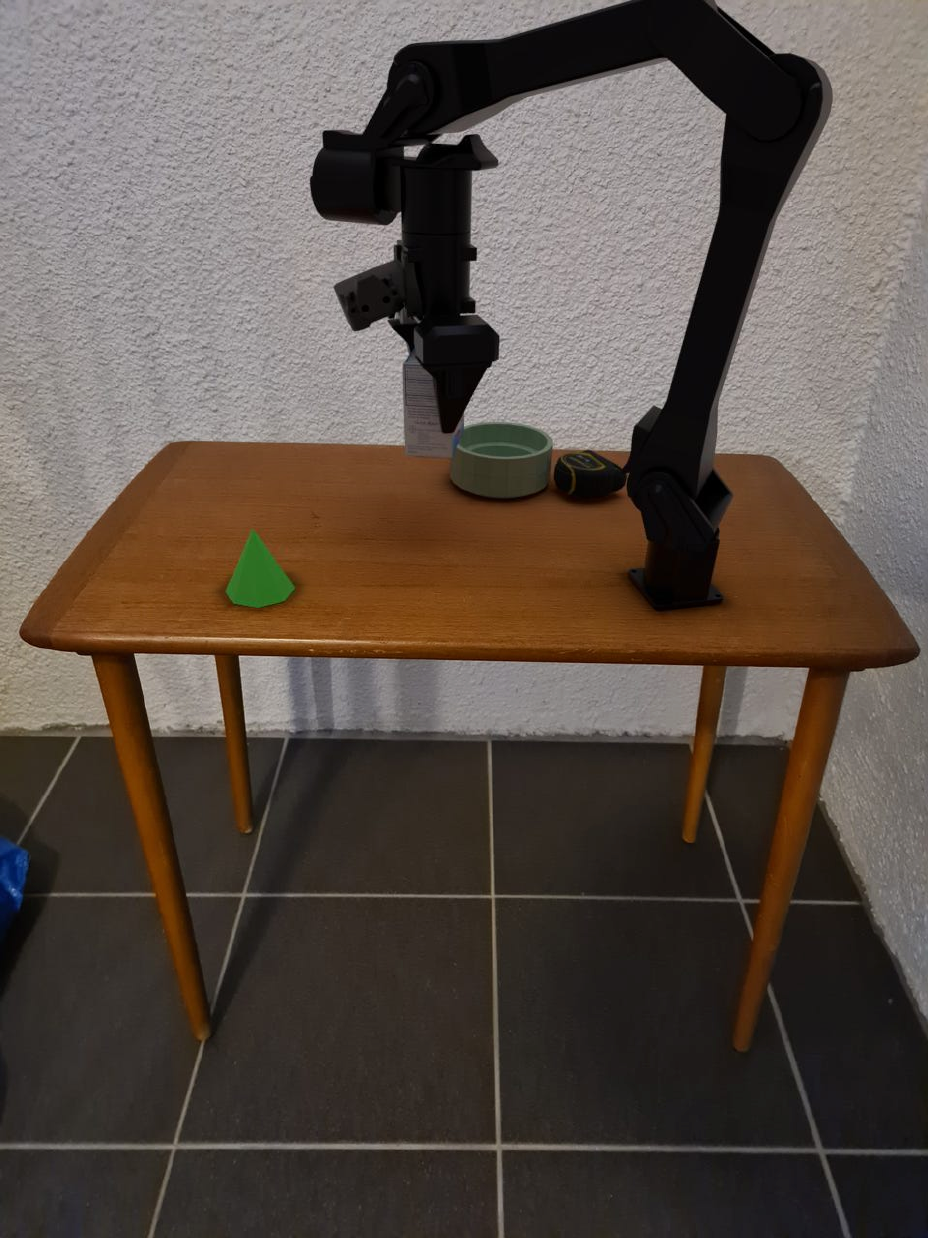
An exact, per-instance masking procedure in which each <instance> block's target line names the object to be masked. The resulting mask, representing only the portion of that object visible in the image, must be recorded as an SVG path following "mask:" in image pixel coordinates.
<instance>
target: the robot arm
mask: <svg viewBox="0 0 928 1238" xmlns="http://www.w3.org/2000/svg"><path fill="white" fill-rule="evenodd" d="M666 62H670V63H672V64H673V65H674V66H675V67H676V68H677V69H678V70H679V71H680V72H681V73H682V74H683V75H684V76H685V77H686V78H687V80H689V81H690V82H691V83H692V84H693V85H694V86H695V87H696V89H697V90H699V91H700V93H701V94H702V95H703V96H704V97H705V98H707V99H708V100H709V101H710V102H711V103H712V104H714V105H715V106H716V107H717V108H718V109H719V110H721V112H723V113H724V114H725V119H724V127H723V136H722V144H721V145H722V146H721V154H720V162H719V163H720V168H719V169H720V170H719V171H720V173H719V176H720V177H719V207H718V214H717V218H716V221H715V225H714V228H713V232H712V236H711V239H710V243H709V246H708V250H707V254H706V257H705V261H704V265H703V268H702V271H701V276H700V277H699V282H698V286H697V288H696V289H697V290H696V293H695V297H694V300H693V304H692V308H691V310H690V315H689V318H688V321H687V324H686V329H685V332H684V335H683V339H682V343H681V346H680V350H679V354H678V358H677V361H676V365H675V368H674V372H673V375H672V379H671V382H670V385H669V390H668V392H667V396H666V400H665V402H664V404H663V406H662V408H661V407H658V406H657V405H652V406H651V407H650V408H649V409H648V410H647V412H645V414H644V415H643V416H642V417H641V418H640V419H639V420H638V421H637V422H636V424H634V425H633V429H632V434H631V440H630V441H631V442H630V450H629V452H630V453H629V457H628V458H627V462H626V463H625V465H624V466H623V468H622V470H621V473H622V474H627V479H626V485H625V486H626V487H625V488H626V489H625V490H626V493H627V498H629V500H631V502H632V504H633V506H634V507H635V508H636V509H637V510H638V511H640V516H641V520H642V525H643V529H644V533H645V538H646V540H647V547H646V555H645V560H644V567H636V568H635V567H634V568H629V569H628V572H627V576H628V578H629V579H630V580H631V581H632V582H633V584H634V585H635V586H636V587H637V589H638V590H639V591H640V592H641V593H642V594H643V596H644V597H645V598H646V600H647V601H648V602H649V604H651V606H652V607H653V608H654V609H656V610H669V609H678V608H686V607H695V606H696V607H697V606H705V605H712V604H721V603H723V601H724V598H725V597H724V594H722V592H720V591H719V590H718V588H717V587H716V586H715V584H713V583H712V580H713V576H714V571H715V566H716V563H717V562H716V561H717V558H718V554H719V553H718V552H719V548H720V543H721V540H720V538H719V537H720V535H721V530H720V527H719V526H720V524H721V522H722V520H723V519H724V516H725V514H726V512H727V510H728V507H729V506H730V504H731V502H732V501H733V498H734V493H733V491H732V490H731V489H730V487H729V486H728V485H727V483H726V482H725V481H724V479H723V478H722V476H720V474H719V472H717V470H716V469H715V467H714V464H715V463H714V462H715V455H716V449H717V448H716V447H717V440H718V429H719V428H718V427H719V424H718V422H719V405H720V404H719V403H720V398H721V396H722V393H723V389H724V387H725V383H726V379H727V376H728V373H729V370H730V367H731V364H732V361H733V359H734V354H735V351H736V348H737V346H738V343H739V339H740V335H741V333H742V329H743V326H744V323H745V320H746V317H747V313H748V311H749V307H750V304H751V302H752V298H753V295H754V292H755V288H756V286H757V282H758V279H759V276H760V274H761V270H762V266H763V263H764V261H765V257H766V253H767V251H768V247H769V246H770V245H769V244H770V241H771V239H772V235H773V232H774V229H775V225H776V222H777V220H778V217H779V215H780V214H781V211H782V209H783V207H784V206H785V203H786V202H787V200H788V199H789V197H790V194H791V193H792V191H793V189H794V187H795V186H796V183H797V181H798V179H799V178H800V176H801V174H802V173H803V171H804V168H805V167H806V165H807V162H808V161H809V158H810V157H811V155H812V153H813V151H814V149H815V147H816V144H817V142H818V141H819V139H820V137H821V135H822V132H823V130H824V129H825V128H826V124H827V123H828V121H829V118H830V115H831V113H832V107H833V101H834V96H833V95H834V94H833V87H832V83H831V81H830V79H829V76H828V75H827V72H826V71H825V69H824V68H823V67H821V66H820V65H819V64H818V63H817V62H816V61H814V60H812V59H809V58H806V57H804V56H801V55H797V54H795V53H791V52H783V53H782V52H781V53H780V52H779V53H778V52H777V53H776V52H775V51H774V50H772V49H771V48H770V47H769V46H768V45H767V44H765V43H764V42H763V41H761V39H759V38H758V37H757V36H755V35H754V34H753V33H752V32H750V31H749V30H748V29H747V28H746V27H744V26H743V25H742V24H741V23H739V21H737V20H736V19H735V18H733V17H732V16H731V15H729V14H728V13H727V12H726V11H725V10H724V9H722V8H721V7H720V6H719V5H718V4H717V2H716V0H626V1H623V2H619V3H616V4H612V5H610V6H605V7H603V8H600V9H596V10H593V11H589V12H586V13H582V14H580V15H576V16H573V17H569V18H566V19H563V20H559V21H555V22H553V23H549V24H546V25H542V26H539V27H535V28H533V29H529V30H525V31H523V32H518V33H516V34H512V35H508V36H506V37H501V38H490V39H459V40H457V39H456V40H455V39H451V40H439V41H423V42H422V41H421V42H413V43H409V44H407V45H405V46H403V47H402V48H400V49H399V50H398V51H397V52H396V53H395V54H394V55H393V60H392V63H391V65H390V68H389V70H388V73H387V80H386V89H385V90H384V92H383V95H382V97H381V98H380V100H379V102H378V103H377V106H376V107H375V109H374V111H373V114H372V115H371V117H370V119H369V121H368V123H367V125H366V126H365V129H364V130H363V132H362V133H358V132H354V131H351V130H348V129H323V131H322V133H321V135H322V147H321V148H320V150H318V152H317V154H316V157H315V159H314V162H313V167H312V173H311V176H310V177H309V190H310V196H311V199H312V202H313V206H314V208H315V210H316V212H317V213H318V215H319V216H320V217H321V218H322V219H324V220H326V221H329V222H330V221H331V222H342V223H350V224H351V223H353V224H361V225H362V224H364V225H372V226H373V225H374V226H385V227H386V226H389V225H390V224H392V223H393V222H394V221H395V219H397V216H398V214H400V224H401V225H400V227H401V229H400V230H401V234H400V235H401V236H400V237H401V239H396V244H393V260H390V261H388V262H385V263H382V264H379V265H376V266H373V267H372V268H368V269H366V270H364V271H362V272H359V273H357V274H355V275H353V276H350V277H347V278H345V279H344V280H341V281H339V282H337V283H335V284H334V285H333V287H332V288H333V290H334V292H335V295H336V297H337V300H338V303H339V305H340V307H341V310H342V312H343V314H344V317H345V319H346V322H347V324H348V325H349V326H350V329H351V331H352V332H359V331H363V330H366V329H368V328H371V325H372V324H374V323H376V322H379V321H380V320H383V319H386V318H387V323H388V324H389V326H390V327H391V328H392V330H393V331H394V332H395V333H396V334H397V335H398V336H399V337H400V338H401V339H402V340H403V341H404V342H405V345H406V349H407V353H408V356H409V355H410V354H411V352H412V351H413V350H414V348H415V350H416V355H417V356H415V358H416V360H417V361H418V362H419V364H420V365H421V366H422V368H423V369H424V370H426V371H427V372H428V373H429V374H430V375H431V376H432V379H433V385H434V391H435V398H436V404H437V410H438V416H439V422H440V427H441V431H442V433H444V434H448V433H454V432H455V430H456V428H457V426H458V424H459V422H460V419H461V417H462V415H463V413H464V414H465V412H466V410H467V407H468V405H469V403H470V401H471V400H472V398H473V396H474V393H475V392H476V390H477V388H478V386H479V384H480V383H481V381H482V379H483V377H484V375H485V373H486V372H487V371H488V369H490V368H492V367H493V363H494V362H497V361H498V360H500V342H501V340H500V338H501V336H500V334H498V332H497V331H496V330H495V329H494V328H493V327H492V326H491V325H490V323H488V322H487V321H486V320H485V319H484V318H483V317H481V316H480V315H479V314H476V311H477V310H476V307H477V300H475V298H474V297H472V296H470V295H471V294H470V292H471V290H470V289H471V262H477V261H478V247H477V246H475V245H474V244H472V242H471V241H472V203H473V198H472V197H473V172H481V171H487V170H492V169H496V168H498V166H499V159H498V157H496V156H495V155H494V153H493V152H492V151H491V149H489V148H487V146H486V145H485V144H484V141H483V140H482V137H481V135H480V134H479V133H472V134H471V133H470V134H465V135H464V136H463V137H462V139H461V140H460V141H459V142H458V143H457V144H455V143H438V142H437V143H435V142H436V141H437V140H438V139H439V138H440V137H441V136H443V135H444V134H445V135H446V134H458V133H461V132H464V131H467V130H469V129H471V128H473V127H476V126H477V125H479V124H481V123H483V122H485V121H487V120H489V119H491V118H493V117H495V116H497V115H499V114H500V113H502V112H503V111H505V110H507V109H508V108H509V107H511V106H512V105H514V104H516V103H519V102H520V101H523V100H524V99H527V98H530V97H533V96H537V95H541V94H545V93H549V92H553V91H557V90H561V89H564V88H568V87H573V86H575V85H576V86H577V85H580V84H584V83H588V82H592V81H595V80H600V79H604V78H607V77H611V76H615V75H619V74H623V73H628V72H631V71H634V70H639V69H642V68H646V67H651V66H654V65H658V64H662V63H666ZM420 146H423V147H422V148H421V149H420V151H419V152H418V154H417V155H416V156H410V155H409V156H408V155H405V148H406V147H408V148H409V147H420Z"/></svg>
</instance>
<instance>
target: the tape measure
mask: <svg viewBox="0 0 928 1238" xmlns="http://www.w3.org/2000/svg"><path fill="white" fill-rule="evenodd" d="M622 469H623V468H622V467H621V466H620V465H618V464H617V463H615V462H613V461H611V460H610V459H607V458H606V457H605V456H603V455H600V454H598V453H597V452H595V451H593V450H590V449H587V450H586V449H585V450H583V451H571V452H567V453H564V454H562V455H561V456H559V458H557V460H556V464H555V465H554V469H553V477H552V478H553V481H554V485H555V486H556V488H557V489H558V490H559V491H560V492H563V493H565V494H566V495H569V496H570V497H574V498H577V499H600V498H603V497H605V496H606V497H607V496H608V495H610V494H614V493H616V492H619V491H621V490H622V489H623V488H624V487H625V486H626V485H627V478H628V473H626V474H622V473H621V470H622Z"/></svg>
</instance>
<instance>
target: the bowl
mask: <svg viewBox="0 0 928 1238" xmlns="http://www.w3.org/2000/svg"><path fill="white" fill-rule="evenodd" d="M553 447H554V441H553V438H552V437H551V436H550V435H549V434H548V432H545V431H544V430H542V429H540V428H538V427H535V426H531V425H528V424H523V423H517V422H507V421H506V422H505V421H486V422H485V421H484V422H477V423H472V424H467V425H464V430H463V432H462V435H461V437H460V440H459V442H458V445H457V447H456V450H455V452H454V455H453V457H452V459H449V478H450V479H451V482H452V483H453V484H454V485H455V486H456V487H458V488H460V489H461V490H463V491H465V492H469V493H471V494H473V495H475V496H479V497H485V498H489V499H518V498H521V497H526V496H528V495H529V496H530V495H533V494H536V493H538V492H540V491H542V490H544V489H545V488H546V487H547V486H548V484H550V482H551V471H552V470H551V469H552V462H553V461H552V458H553V449H554V448H553Z"/></svg>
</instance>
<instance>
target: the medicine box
mask: <svg viewBox="0 0 928 1238" xmlns="http://www.w3.org/2000/svg"><path fill="white" fill-rule="evenodd" d="M415 356H417V355H416V350H415V348H414V350H413V351H412V352H411V354H410V355H409V354H408V356H407V357H406V359H405V360H404V361H403V363H402V404H403V434H404V437H403V439H404V453H405V456H406V457H413V458H423V459H443V460H450V459H452V457H453V455H454V452H455V450H456V447H457V445H458V442H459V440H460V437H461V435H462V432H463V430H464V427H465V412H464V413H463V415H462V417H461V419H460V422H459V424H458V426H457V428H456V430H455V432H454V433H448V434H444V433H442V431H441V427H440V422H439V416H438V410H437V404H436V398H435V391H434V385H433V379H432V376H431V375H430V374H429V373H428V372H427V371H426V370H424V369H423V368H422V366H421V365H420V364H419V362H418V361H417V360H416V358H415Z"/></svg>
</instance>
